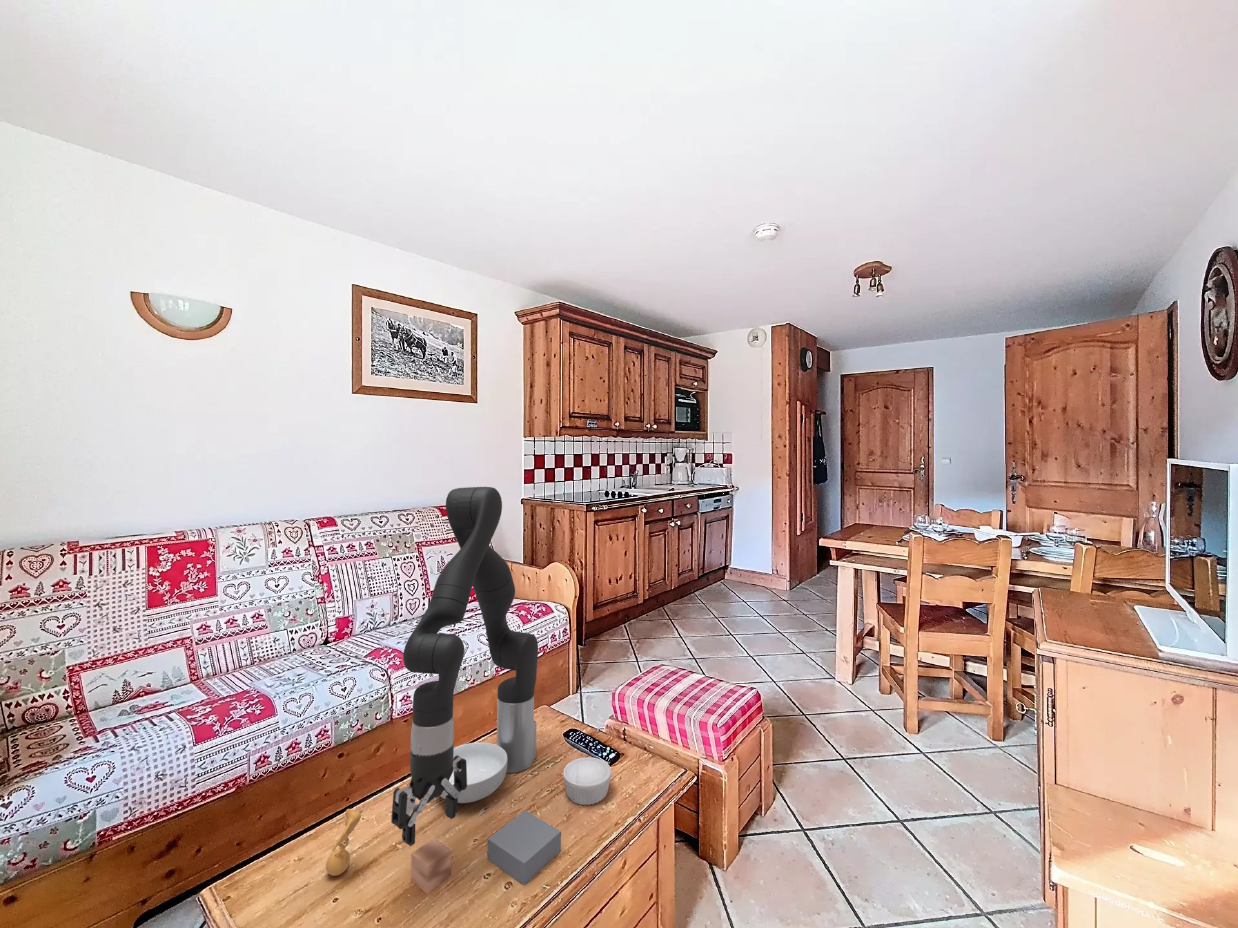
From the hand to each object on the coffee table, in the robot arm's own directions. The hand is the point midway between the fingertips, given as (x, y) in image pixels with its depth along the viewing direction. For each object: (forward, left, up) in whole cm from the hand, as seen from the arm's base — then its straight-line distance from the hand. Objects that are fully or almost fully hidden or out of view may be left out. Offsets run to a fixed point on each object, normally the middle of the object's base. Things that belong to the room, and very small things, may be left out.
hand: (430, 829), depth 94 cm
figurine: (+9, -14, -9) cm, 19 cm away
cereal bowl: (-20, -14, -9) cm, 26 cm away
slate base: (-14, +10, -9) cm, 20 cm away
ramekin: (-36, +8, -9) cm, 38 cm away
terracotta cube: (0, 0, -9) cm, 9 cm away
